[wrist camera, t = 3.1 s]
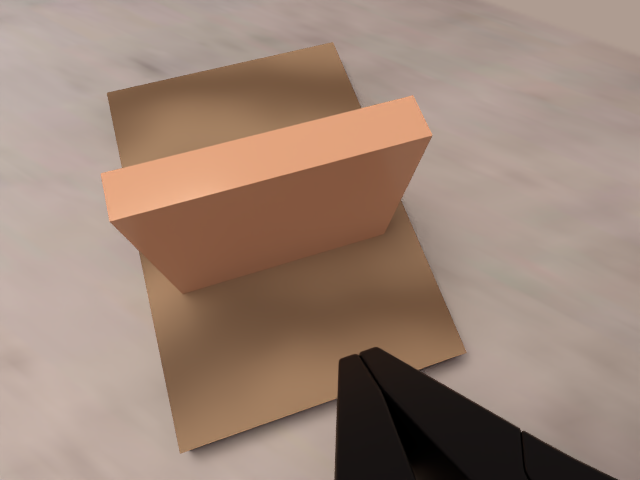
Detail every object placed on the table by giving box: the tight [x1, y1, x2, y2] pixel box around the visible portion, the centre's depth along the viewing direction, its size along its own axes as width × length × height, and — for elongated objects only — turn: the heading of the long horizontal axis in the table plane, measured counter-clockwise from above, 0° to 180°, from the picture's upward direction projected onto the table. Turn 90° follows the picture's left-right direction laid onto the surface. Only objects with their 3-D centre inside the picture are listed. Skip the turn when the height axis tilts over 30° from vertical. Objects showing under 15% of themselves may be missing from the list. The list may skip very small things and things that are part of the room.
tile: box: [101, 96, 432, 294], centre depth 18 cm, size 2×10×8 cm, turn 109°
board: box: [107, 42, 467, 453], centre depth 23 cm, size 19×13×2 cm
